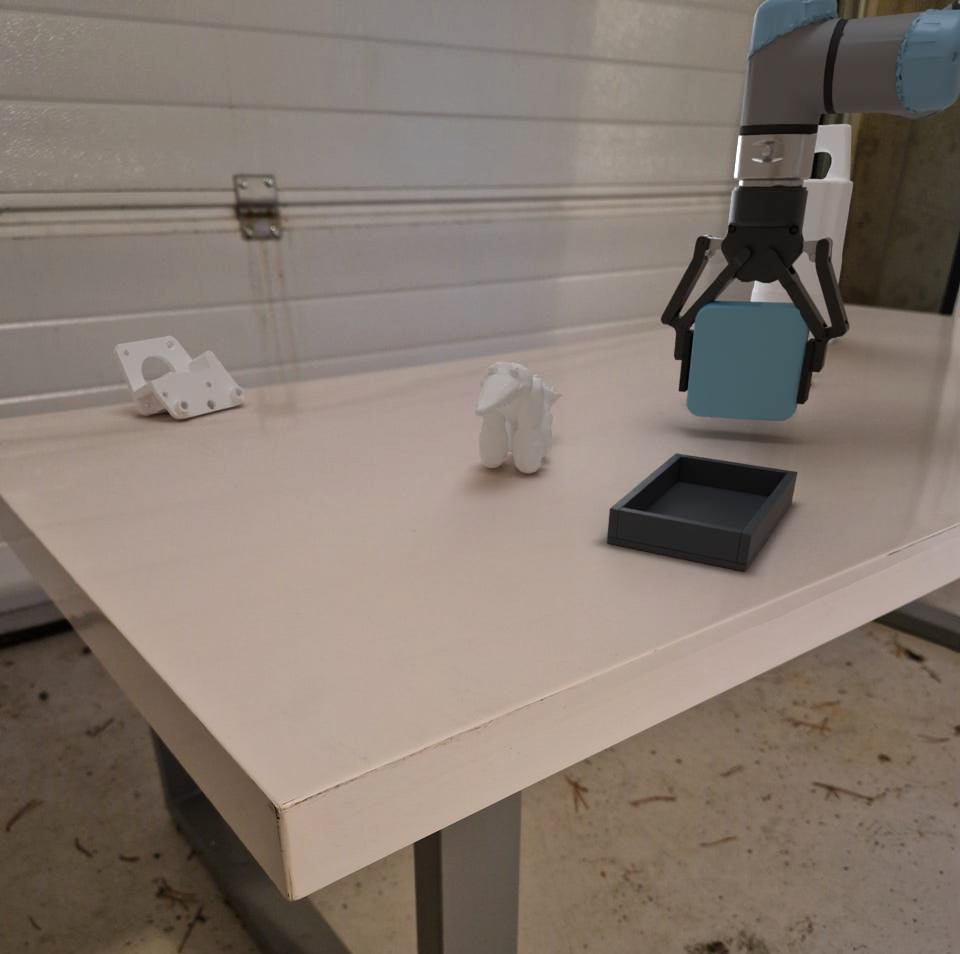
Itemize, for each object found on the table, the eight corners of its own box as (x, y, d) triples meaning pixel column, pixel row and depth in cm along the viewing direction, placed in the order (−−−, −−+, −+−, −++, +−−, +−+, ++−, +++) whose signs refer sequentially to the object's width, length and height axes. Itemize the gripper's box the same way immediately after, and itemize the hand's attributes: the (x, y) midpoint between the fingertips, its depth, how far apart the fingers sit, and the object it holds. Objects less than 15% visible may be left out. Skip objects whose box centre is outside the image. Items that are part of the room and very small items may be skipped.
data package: (793, 412, 99) (811, 302, 94) (794, 422, 95) (813, 308, 90) (687, 407, 102) (699, 300, 96) (684, 416, 98) (696, 305, 93)
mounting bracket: (225, 413, 115) (192, 333, 113) (251, 400, 111) (218, 317, 108) (147, 433, 107) (110, 347, 104) (172, 419, 102) (134, 329, 100)
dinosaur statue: (445, 490, 83) (443, 373, 78) (533, 429, 102) (536, 331, 97) (510, 500, 81) (513, 380, 75) (587, 435, 100) (594, 336, 94)
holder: (791, 503, 80) (797, 471, 79) (745, 571, 67) (751, 534, 65) (672, 483, 85) (675, 453, 84) (606, 543, 72) (609, 508, 70)
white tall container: (728, 337, 156) (758, 123, 140) (762, 327, 166) (794, 127, 150) (811, 348, 147) (854, 122, 131) (841, 337, 157) (885, 125, 141)
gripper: (643, 184, 90) (627, 390, 100) (897, 184, 79) (851, 414, 90) (665, 183, 96) (649, 378, 106) (905, 183, 85) (861, 399, 95)
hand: (741, 395), depth 98 cm, fingers closed on data package, 13 cm apart
